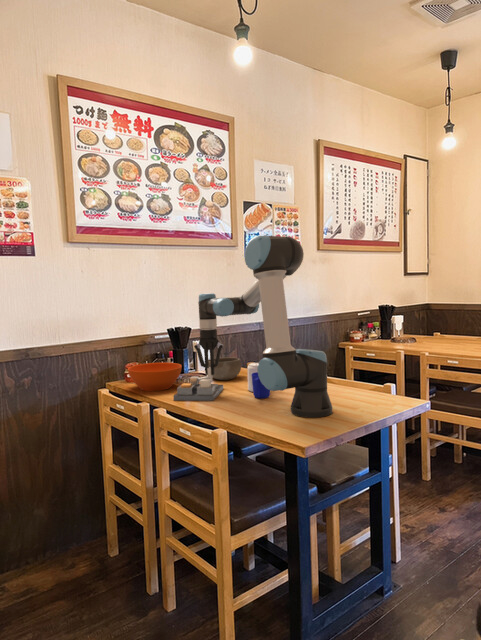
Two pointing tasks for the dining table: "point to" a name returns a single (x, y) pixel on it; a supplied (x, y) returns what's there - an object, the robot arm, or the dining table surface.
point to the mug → (259, 387)
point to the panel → (198, 393)
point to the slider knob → (194, 381)
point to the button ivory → (205, 383)
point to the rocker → (203, 378)
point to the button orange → (186, 385)
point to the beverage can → (251, 369)
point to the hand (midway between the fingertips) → (210, 382)
